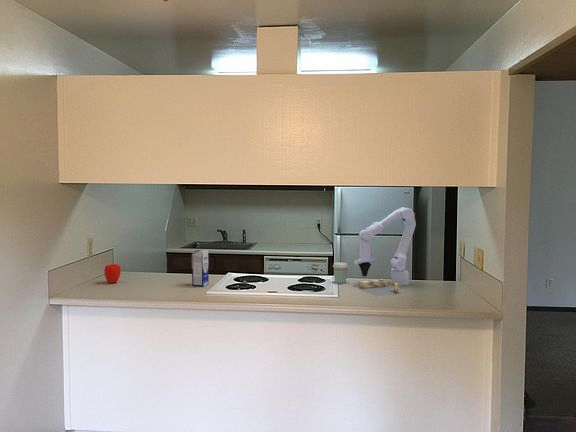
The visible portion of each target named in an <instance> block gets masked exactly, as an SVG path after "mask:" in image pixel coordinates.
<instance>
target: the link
mask: <svg viewBox="0 0 576 432" xmlns="http://www.w3.org/2000/svg"><path fill="white" fill-rule="evenodd" d="M386 282H387V281H386V279H383V280H380V279H373V280H361V281H359V280H358V283H357V284H358V285H357V286H358V287H359V288H369V287H384V286H387V285H386V284H387V283H386Z"/></svg>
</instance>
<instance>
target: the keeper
mask: <svg viewBox="0 0 576 432" xmlns="http://www.w3.org/2000/svg"><path fill="white" fill-rule="evenodd" d="M388 284H390V285H391V284H392V285H391V286H393V289H394V293H396V294H397V293H398V291H399V286H398V285H399V283H397V282H395V281H391V280H388ZM397 295H398V294H397Z"/></svg>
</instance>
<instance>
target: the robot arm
mask: <svg viewBox="0 0 576 432" xmlns="http://www.w3.org/2000/svg"><path fill="white" fill-rule="evenodd" d="M415 216H416V215H415V212H414V211H413V209H411V208H410V207H405V206H404V207H403V206H402V207H399V208H398V209H396V210H394V211H393V212H391V213H390V214H389V215H387V216H386V217H384V218H383V219H382V220H380V221H373V222H371V223H372V224H371V225H370V226H368V227H365V228H364V229H362V230H361V231H360V232H359V234H358V237H359V239H360V240H359V241H360V242H359V258H358V259H356V260H354V264H353V265H358V267H359V268H360V271H361V274H362V277H367V276H368V274H369V273H368V272H369V270H370V268H371V266H372V263H376V258H374V257H373V258H371V240H372V238H373V237H375V236H376V235H377V234H379V233H380V232H381V231H383V229H384V227H385V226H387V225H389V224H391V223H392V222H394V221H395V220H402V222H403V223H404V225H405V226H404V229H403V233H402V235H401V239H400V242H399V244H398V248H397V250H396V252H395V253H394V255H393V257H392V258H391V259H390V261H389V265H390V266H391V270H390V281H395V282H397V283H399V285H398V287H401V286H403V287H404V286H409V285H410V273H409V271H408V270H407V269H406V267H407V253H408V249H409V247H410V245H411V241H412V237H413V235H414V232H415V229H416V226H417V223H416V218H415ZM390 285H391V286H393V285H392V284H390Z"/></svg>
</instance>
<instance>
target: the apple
mask: <svg viewBox="0 0 576 432" xmlns="http://www.w3.org/2000/svg"><path fill="white" fill-rule="evenodd" d="M121 271H122V269H121V266H120V264H117V263H112V264H107V265H105V266H104V271H103V272H104V278H105V280H106V282H107V283H108V284H110V283H111V284H115V283H117V282H118V281H119V278H120V276H121V273H122V272H121ZM114 282H115V283H114Z"/></svg>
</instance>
